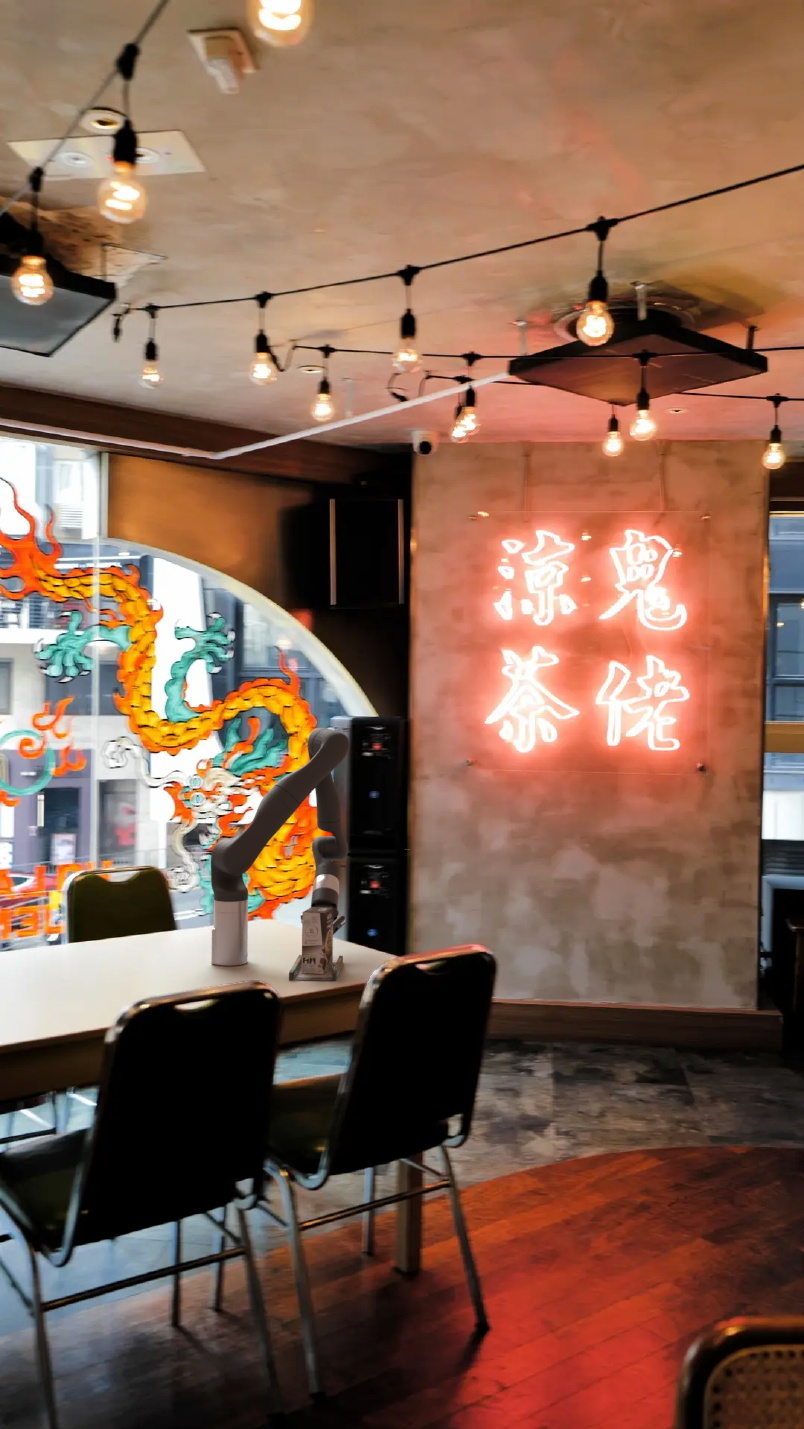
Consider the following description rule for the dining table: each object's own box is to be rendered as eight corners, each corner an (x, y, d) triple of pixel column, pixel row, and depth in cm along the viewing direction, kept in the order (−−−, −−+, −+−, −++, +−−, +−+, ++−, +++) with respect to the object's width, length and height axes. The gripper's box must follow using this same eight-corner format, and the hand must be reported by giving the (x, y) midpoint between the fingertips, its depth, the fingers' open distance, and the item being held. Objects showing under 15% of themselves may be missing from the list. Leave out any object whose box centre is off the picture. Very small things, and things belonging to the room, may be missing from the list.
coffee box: (324, 974, 294) (325, 912, 294) (300, 973, 295) (301, 911, 295) (333, 967, 303) (334, 906, 303) (310, 965, 304) (311, 905, 304)
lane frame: (288, 980, 287) (288, 972, 287) (299, 962, 308) (299, 954, 308) (335, 981, 287) (335, 973, 287) (342, 962, 308) (342, 955, 308)
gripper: (301, 885, 317) (295, 938, 304) (348, 886, 316) (344, 939, 304) (303, 901, 322) (297, 953, 310) (349, 902, 321) (345, 954, 309)
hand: (320, 946), depth 307 cm, fingers closed
